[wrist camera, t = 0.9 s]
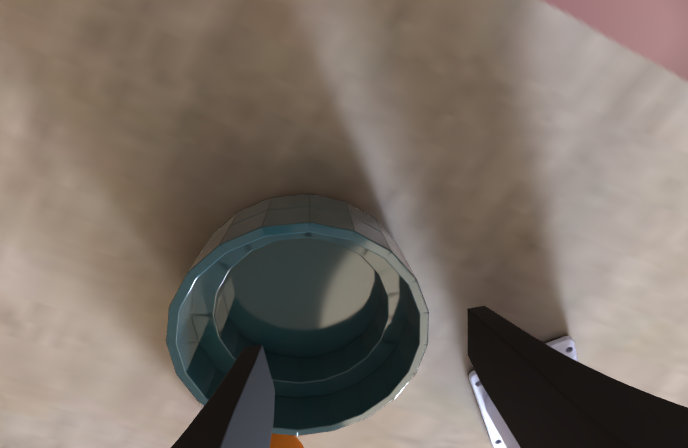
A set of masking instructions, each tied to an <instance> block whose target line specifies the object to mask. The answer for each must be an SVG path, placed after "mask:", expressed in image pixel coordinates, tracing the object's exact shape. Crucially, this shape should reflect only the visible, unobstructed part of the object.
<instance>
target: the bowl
mask: <svg viewBox="0 0 688 448" xmlns="http://www.w3.org/2000/svg"><path fill="white" fill-rule="evenodd" d="M428 319H429V312H428V308H427V305H426V303H425V300H424V297H423V295H422V292H421V289H420V286H419V284H418V281H417V279H416V277H415V275H414V274H413V272H412V270H411V268H410V266H409V265H408V263H407V261H406V259H405V258H404V256H403V254H402V252H401V250H400V249H399V247H398V245H397V243H396V242H395V241H394V240H393V238H392V237H391V236H390V235H389V234H388V233H387V231H386V230H385V229H384V228H383V227H382V226H381V225H380V223H379V222H378V221H377V220H376V219H375V218H373V217H371V216H370V215H368V214H366V213H364V212H363V211H361V210H359V209H357V208H356V207H354V206H352V205H350V204H349V203H347V202H345V201H340V200H336V199H331V198H326V197H321V196H317V195H312V194H310V195H309V194H303V195H292V196H281V197H273V198H270V199H267V200H265V201H263V202H260V203H258V204H256V205H253V206H251V207H248V208H246V209H244V210H241V211H239V212H237V213H236V214H235V215H234V216H233V217H232V218H230V219H229V220H228V221H227V222H226V223H225V224H224V225H223V226H221V227H220V228H219V229H218V230H217V231H216V232H215V233H214V234H213V235H212V236H211V237H210V239H209V240H208V242H207V243H206V245H205V246H204V248H203V249H202V251H201V253H200V254H199V255H198V257H197V258H196V260H195V261H194V263H193V264H192V266H191V267H190V269H189V270H188V272H187V274H186V275H185V277H184V279H183V281H182V283H181V285H180V287H179V289H178V290H177V292H176V294H175V296H174V298H173V300H172V302H171V304H170V307H169V313H168V325H167V336H166V344H167V347H168V350H169V353H170V356H171V359H172V362H173V365H174V368H175V372H176V374H177V376H178V377H179V378H180V380H181V381H182V382H183V383H184V385H185V386H186V387H187V388H188V390H189V391H190V392H191V393H192V395H193V396H194V397H195V398H196V400H197V401H199V402H200V403H201V404H203V405H204V406H205V404H206V403H207V402H208V400H209V399H210V398H211V396H212V395H213V393H214V392H215V390H216V389H217V387H218V386H219V385H220V383H221V382H222V380H223V379H224V377H225V376H226V374H227V373H228V371H229V370H230V368H231V367H232V365H233V364H234V362H235V361H236V359H237V357H238V356H239V354H240V353H241V351H242V350H243V349H244V347H250V346H256V345H262V346H263V349H264V353H265V356H266V360H267V363H268V367H269V370H270V374H271V377H272V381H273V384H274V388H275V402H274V421H273V428H272V434H284V435H295V436H297V435H298V436H299V435H307V434H314V433H322V432H329V431H334V430H337V429H340V428H342V427H345V426H348V425H350V424H353V423H356V422H358V421H361V420H364V419H366V418H368V417H369V416H371V415H372V414H374V413H375V412H377V411H378V410H379V409H381V408H382V407H384V406H385V405H387V404H388V403H390V402H391V401H393V400H394V399H395V398H396V397H397V396H398V394H399V393H400V392H401V391H402V390H403V389H404V387H405V386H406V385H407V384H408V383H409V381H410V380H411V379H412V378H413V377H414V375H415V374H416V372H417V370H418V367H419V365H420V362H421V360H422V357H423V355H424V352H425V350H426V347H427V344H428Z"/></svg>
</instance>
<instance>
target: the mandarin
mask: <svg viewBox="0 0 688 448" xmlns="http://www.w3.org/2000/svg"><path fill="white" fill-rule="evenodd" d="M270 448H304V447H303V445H302V444H301V442H300V441H299V440H298V439H297V438H296V437H295V436H294V435H284V434H272V435H271V442H270Z"/></svg>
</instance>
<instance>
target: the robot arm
mask: <svg viewBox="0 0 688 448" xmlns="http://www.w3.org/2000/svg"><path fill="white" fill-rule="evenodd" d="M468 356H469V358H470V361H471V363H472V365H473V367H474V371H472V372H471V373H470V374H469V380H470V383H471V385H472V388H473V391H474V394H475V397H476V400H477V403H478V406H479V408H480V411H481V414H482V417H483V420H484V423H485V426H486V429H487V431H488V434H489V437H490V440H491V443H492V446H493V448H688V408H687V407H684V406H681V405H678V404H675V403H673V402H670V401H667V400H664V399H662V398H659V397H656V396H654V395H651V394H649V393H646V392H644V391H641V390H639V389H636V388H634V387H632V386H629V385H627V384H624V383H622V382H620V381H617V380H615V379H613V378H611V377H608V376H606V375H604V374H602V373H600V372H598V371H596V370H594V369H592V368H589V367H587V366H585V365H583V364H581V363H579V362H578V359H577V353H576V348H575V342H574V340H573V339H572V338H571V337H569V336H564V337H561V338H559V339H556V340H553V341H551V342H548V343H543V342H541V341H540V340H538V339H536V338H535V337H533V336H531V335H530V334H528V333H527V332H525V331H523V330H522V329H520V328H519V327H517V326H516V325H514V324H512V323H511V322H509V321H508V320H506V319H505V318H503V317H502V316H500V315H498V314H497V313H495V312H494V311H492V310H491V309H489V308H487V307H486V306H481V307H475V308H469V309H468ZM477 381H478V382H477ZM274 402H275V388H274V384H273V381H272V377H271V374H270V370H269V367H268V363H267V360H266V356H265V353H264V349H263V346H262V345H256V346H250V347H244V349H243V350H242V351H241V353H240V354H239V356H238V357H237V359H236V361H235V362H234V364H233V365H232V367H231V368H230V370H229V371H228V373H227V374H226V376H225V377H224V379H223V380H222V382H221V383H220V385H219V386H218V387H217V389H216V390H215V392H214V393H213V395H212V396H211V398H210V399H209V400H208V402H207V403H206V404H205V406H204V407H203V408H202V410H201V411H200V412H199V414H198V415H197V416H196V418H195V419H194V420H193V422H192V423H191V424H190V425H189V427H188V428H187V429H186V430H185V432H184V433H183V434H182V435H181V436H180V438H179V439H178V440H177V441H176V442H175V444H174V445H173V446H172V447H171V448H270V442H271V435H272V428H273V421H274Z"/></svg>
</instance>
